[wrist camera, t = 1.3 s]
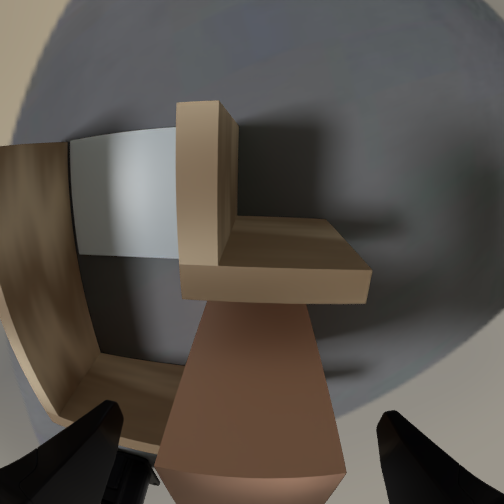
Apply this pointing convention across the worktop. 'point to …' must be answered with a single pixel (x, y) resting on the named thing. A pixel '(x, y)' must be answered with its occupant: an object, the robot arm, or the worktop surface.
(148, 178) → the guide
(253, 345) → the peg
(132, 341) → the worktop surface
